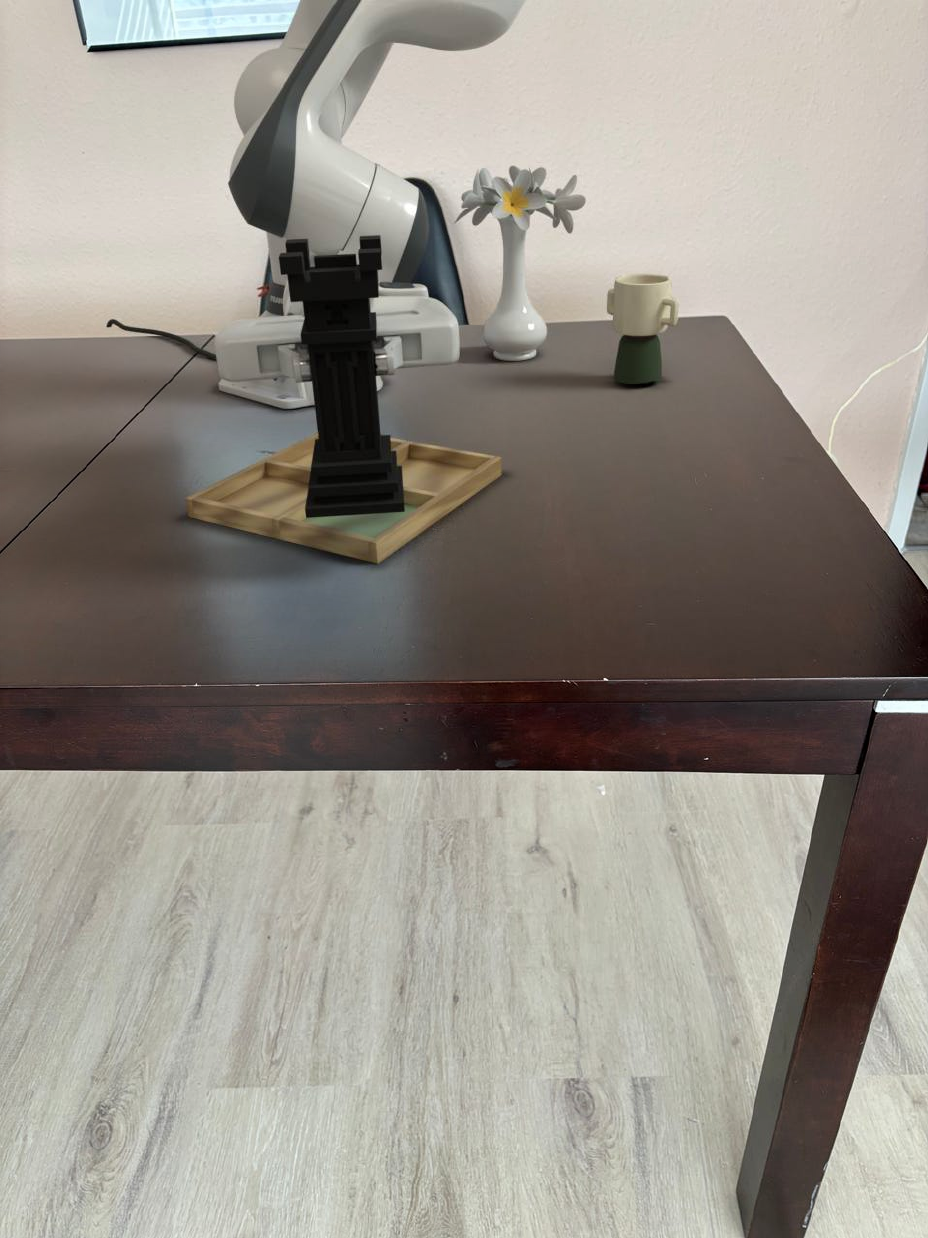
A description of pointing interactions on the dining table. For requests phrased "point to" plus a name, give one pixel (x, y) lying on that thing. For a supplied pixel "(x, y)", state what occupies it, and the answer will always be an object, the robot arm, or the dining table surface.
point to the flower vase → (517, 251)
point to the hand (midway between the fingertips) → (345, 368)
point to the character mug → (641, 324)
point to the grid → (277, 509)
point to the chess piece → (344, 381)
